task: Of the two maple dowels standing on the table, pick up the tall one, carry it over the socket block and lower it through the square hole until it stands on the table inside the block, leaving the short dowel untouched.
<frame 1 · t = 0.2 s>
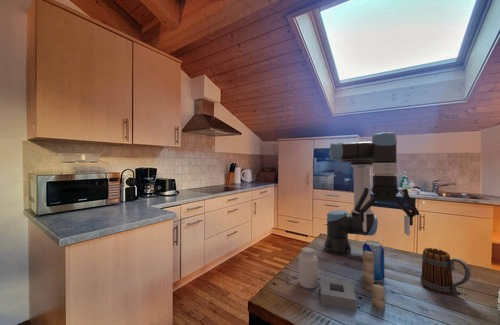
hand: (385, 232, 77), 27 cm above the table, fingers open, 13 cm apart
mug: (444, 291, 85), on the table
tall dowel: (368, 289, 87), on the table
pill bottle: (308, 284, 91), on the table
beer can: (373, 278, 95), on the table
socket block: (336, 297, 82), on the table
short dowel: (378, 306, 76), on the table
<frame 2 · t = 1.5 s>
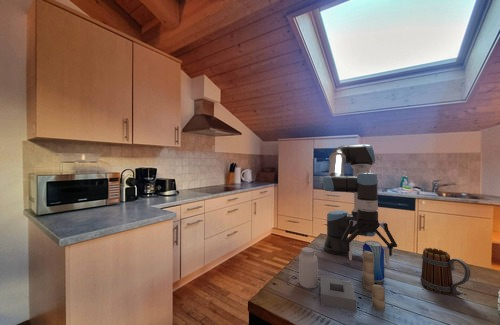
hand: (368, 261, 87), 12 cm above the table, fingers open, 13 cm apart
nothing on the table moved.
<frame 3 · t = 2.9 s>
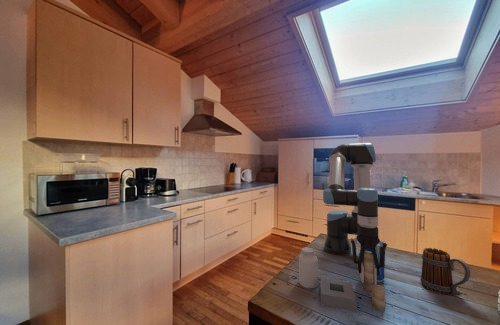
hand: (368, 281, 87), 3 cm above the table, fingers closed on tall dowel, 4 cm apart
tall dowel: (368, 289, 87), on the table, touching gripper
everything else where it was.
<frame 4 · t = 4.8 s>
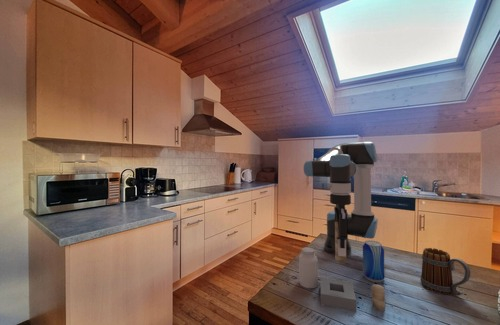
hand: (340, 253, 82), 17 cm above the table, fingers closed on tall dowel, 4 cm apart
tall dowel: (340, 261, 82), point 14 cm above the table, touching gripper
everything else where it was.
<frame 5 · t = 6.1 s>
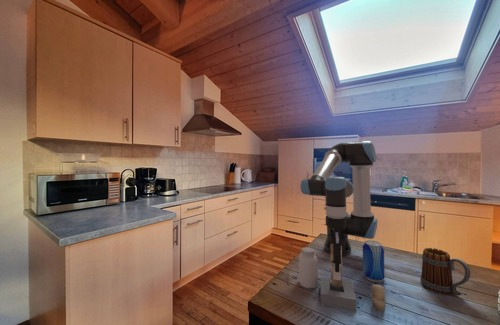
hand: (336, 276, 82), 8 cm above the table, fingers closed on tall dowel, 4 cm apart
tall dowel: (336, 284, 82), point 5 cm above the table, touching gripper
everything else where it was.
when the fingers open (5 cm above the table, at t = 7.0 s): tall dowel stays where it is, resting in socket block.
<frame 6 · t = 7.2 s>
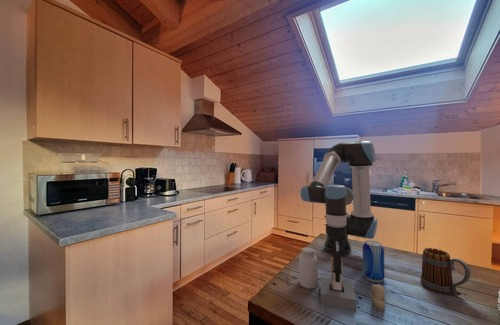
hand: (336, 283, 82), 6 cm above the table, fingers open, 7 cm apart
tall dowel: (336, 297, 82), resting in socket block
everything else where it was.
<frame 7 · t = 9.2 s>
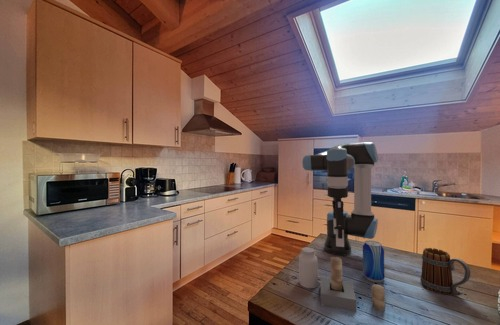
hand: (338, 239, 84), 22 cm above the table, fingers open, 13 cm apart
nothing on the table moved.
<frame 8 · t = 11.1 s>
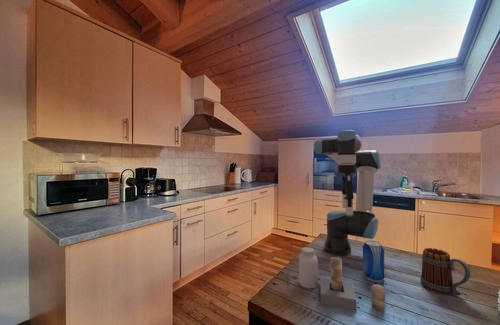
hand: (347, 211, 95), 31 cm above the table, fingers open, 13 cm apart
nothing on the table moved.
at the end: tall dowel 0.1 cm off-centre on the socket block, point 0.0 cm above the socket block's base; tall dowel tilted 0°; short dowel moved 0.0 cm from its start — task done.
